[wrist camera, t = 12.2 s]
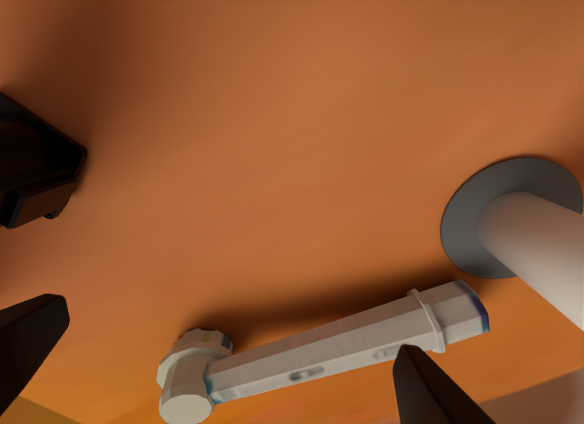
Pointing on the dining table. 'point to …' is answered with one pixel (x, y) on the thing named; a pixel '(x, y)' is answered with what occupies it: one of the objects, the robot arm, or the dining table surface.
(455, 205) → the pad
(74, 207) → the dining table surface
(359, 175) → the dining table surface
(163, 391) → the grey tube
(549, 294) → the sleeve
